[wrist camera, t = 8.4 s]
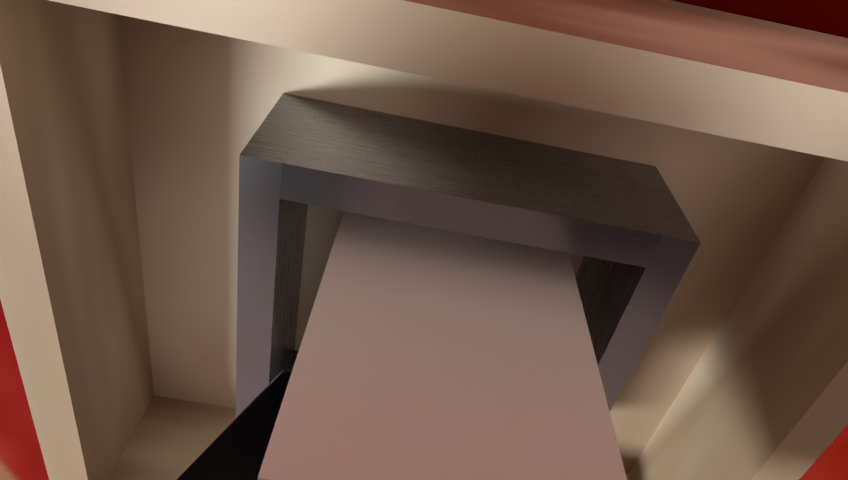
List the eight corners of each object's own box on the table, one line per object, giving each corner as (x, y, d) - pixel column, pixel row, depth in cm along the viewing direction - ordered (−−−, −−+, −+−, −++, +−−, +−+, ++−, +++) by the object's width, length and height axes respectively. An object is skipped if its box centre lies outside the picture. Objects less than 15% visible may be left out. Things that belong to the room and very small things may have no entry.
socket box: (896, 48, 11) (1095, 144, 7) (637, 464, 17) (678, 614, 14) (85, -125, 10) (-111, -107, 6) (141, 381, 16) (60, 520, 13)
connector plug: (563, 228, 11) (686, 713, 5) (507, 376, 13) (545, 841, 7) (351, 188, 11) (203, 643, 5) (330, 345, 13) (210, 797, 7)
